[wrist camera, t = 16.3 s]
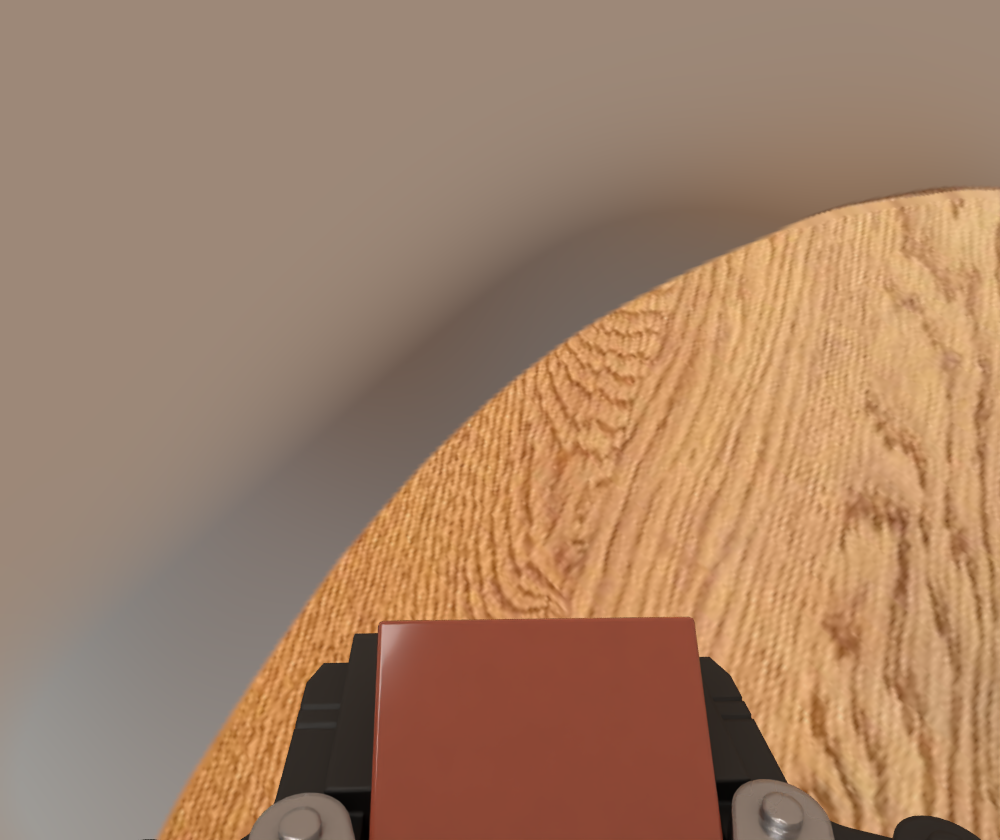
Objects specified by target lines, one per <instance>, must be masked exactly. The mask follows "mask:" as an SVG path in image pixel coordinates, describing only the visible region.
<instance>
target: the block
mask: <svg viewBox="0 0 1000 840" xmlns="http://www.w3.org/2000/svg"><path fill="white" fill-rule="evenodd" d="M369 840H723V833H722V826H721V818H720V810H719V803H718V795H717V788H716V780H715V773H714V765H713V758H712V750H711V743H710V735H709V727H708V720H707V712H706V705H705V697H704V690H703V682H702V675H701V667H700V660H699V652H698V644H697V637H696V629H695V622H694V620H693V618H691V617H630V618H555V619H480V620H404V621H382V622H380V623H379V626H378V639H377V662H376V685H375V708H374V731H373V754H372V777H371V800H370V823H369Z"/></svg>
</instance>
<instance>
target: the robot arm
mask: <svg viewBox="0 0 1000 840" xmlns="http://www.w3.org/2000/svg"><path fill="white" fill-rule="evenodd" d="M377 639H378V633H369V634H355V635H354V638H353V643H352V648H351V653H350V658H349V663H324V664H323V665H322V666H321V667H320V668H319V669H318V670H317V672H316V673H315V674H314V675H313V676H312V677H311V679H310V680H309V681H308V682H307V683H306V687H305V691H304V695H303V698H302V702H301V708H300V710H299V713H298V717H297V721H296V727H295V729H294V732H293V736H292V740H291V743H290V747H289V751H288V755H287V758H286V762H285V766H284V770H283V773H282V777H281V781H280V785H279V788H278V792H277V796H276V799H275V802H274V804H273V805H272V806H270V807H269V808H268V809H267V810H266V811H264V812H263V814H262V815H261V816H260V817H259V818H258V819H257V821H256V822H255V824H254V826H253V828H252V830H251V832H250V834H249V835H247V836H246V837H244V838H242V839H241V840H369V823H370V800H371V777H372V754H373V731H374V708H375V685H376V662H377ZM699 660H700V667H701V675H702V682H703V690H704V697H705V705H706V712H707V720H708V727H709V735H710V743H711V750H712V758H713V765H714V773H715V780H716V788H717V795H718V803H719V810H720V818H721V826H722V833H723V840H981V839H979V838H978V837H977V836H975V835H974V834H973V833H971V832H970V831H968V830H966V829H964V828H963V827H961V826H959V825H957V824H954V823H952V822H950V821H947V820H944V819H941V818H937V817H932V816H912V817H908V818H906V819H904V820H902V821H901V822H900V823H899V824H898V825H897V826H896V828H895V831H894V834H893V838H889V837H885V836H881V835H877V834H873V833H868V832H864V831H860V830H856V829H852V828H848V827H845V826H842V825H839V824H836V823H834V822H832V821H830V820H829V818H828V816H827V814H826V812H825V811H824V810H823V808H822V807H821V806H820V805H819V804H818V803H817V802H816V801H815V800H814V799H813V798H812V797H811V796H809V795H808V794H807V793H805V792H804V791H802V790H800V789H798V788H797V787H795V786H793V785H790V784H788V783H787V781H786V779H785V777H784V775H783V773H782V772H781V770H780V768H779V766H778V764H777V762H776V760H775V758H774V756H773V755H772V753H771V751H770V749H769V747H768V745H767V743H766V741H765V740H764V738H763V736H762V734H761V732H760V730H759V728H758V726H757V725H756V723H755V721H754V719H752V718H751V713H750V711H749V710H748V708H747V706H746V704H745V702H744V701H742V696H741V694H740V693H739V691H738V689H737V687H736V685H735V683H734V681H733V679H732V678H731V676H730V675H729V674H728V673H727V672H726V671H725V670H724V669H723V668H721V667H720V666H719V665H718V664H717V663H716V662H715V661H713V660H712V659H711V658H710V657H699ZM145 840H149V839H145ZM150 840H155V839H150Z"/></svg>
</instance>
